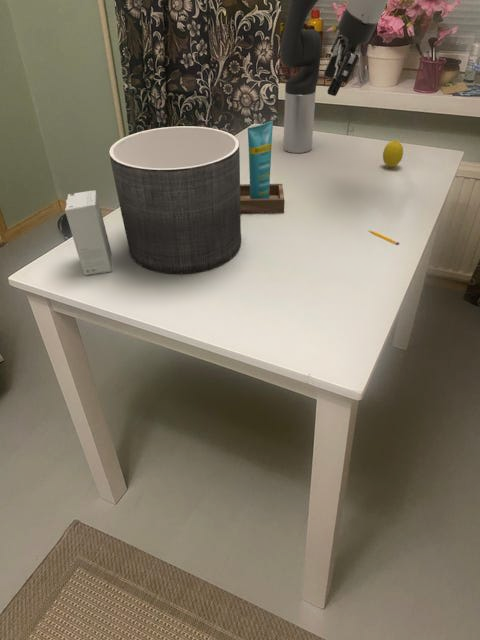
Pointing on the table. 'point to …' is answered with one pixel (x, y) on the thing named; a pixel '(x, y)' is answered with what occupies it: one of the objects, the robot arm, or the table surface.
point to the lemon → (393, 153)
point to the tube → (260, 159)
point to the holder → (262, 200)
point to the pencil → (384, 237)
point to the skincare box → (89, 232)
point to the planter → (179, 197)
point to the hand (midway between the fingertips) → (329, 85)
